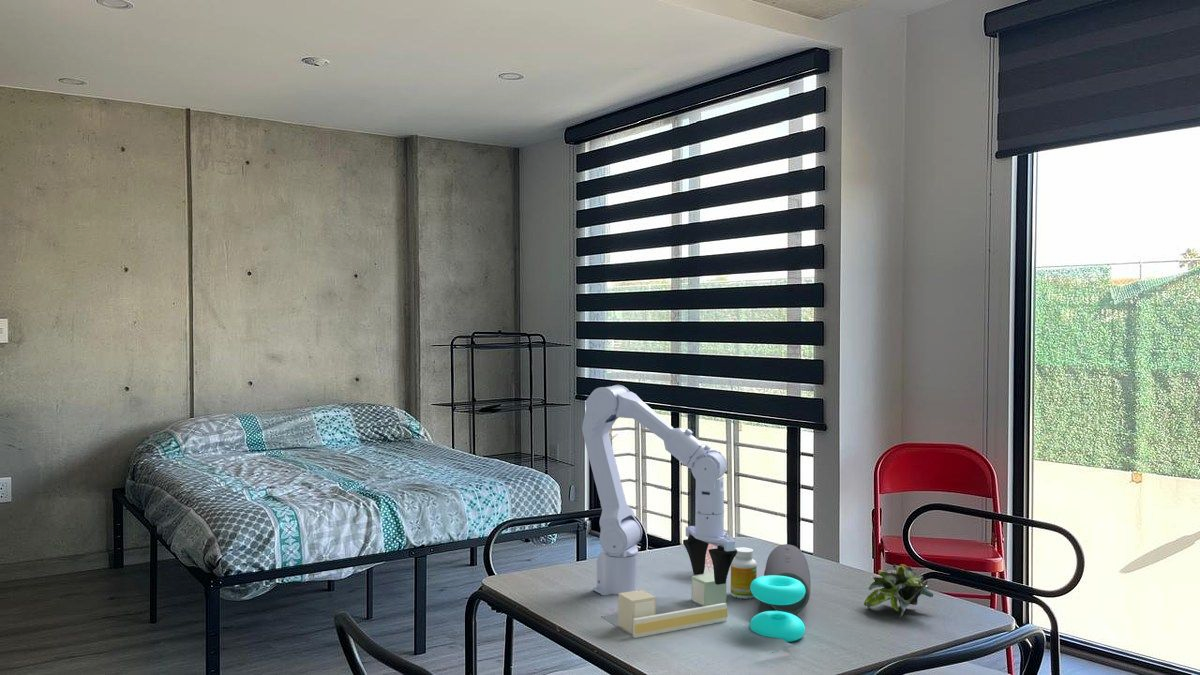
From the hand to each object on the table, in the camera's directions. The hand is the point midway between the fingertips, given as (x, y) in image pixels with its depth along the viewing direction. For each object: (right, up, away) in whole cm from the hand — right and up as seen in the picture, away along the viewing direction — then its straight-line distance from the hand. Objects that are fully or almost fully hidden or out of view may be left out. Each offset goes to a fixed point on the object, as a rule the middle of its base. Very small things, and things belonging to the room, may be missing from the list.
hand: (709, 578), depth 178 cm
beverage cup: (+4, -6, +25) cm, 26 cm away
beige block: (-15, -5, -16) cm, 23 cm away
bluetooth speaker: (+16, -6, +3) cm, 18 cm away
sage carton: (0, -6, 0) cm, 6 cm away
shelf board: (-10, -6, -11) cm, 16 cm away
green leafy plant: (+38, -6, -3) cm, 38 cm away
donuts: (+11, -6, -16) cm, 20 cm away
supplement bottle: (+8, -6, +8) cm, 13 cm away
